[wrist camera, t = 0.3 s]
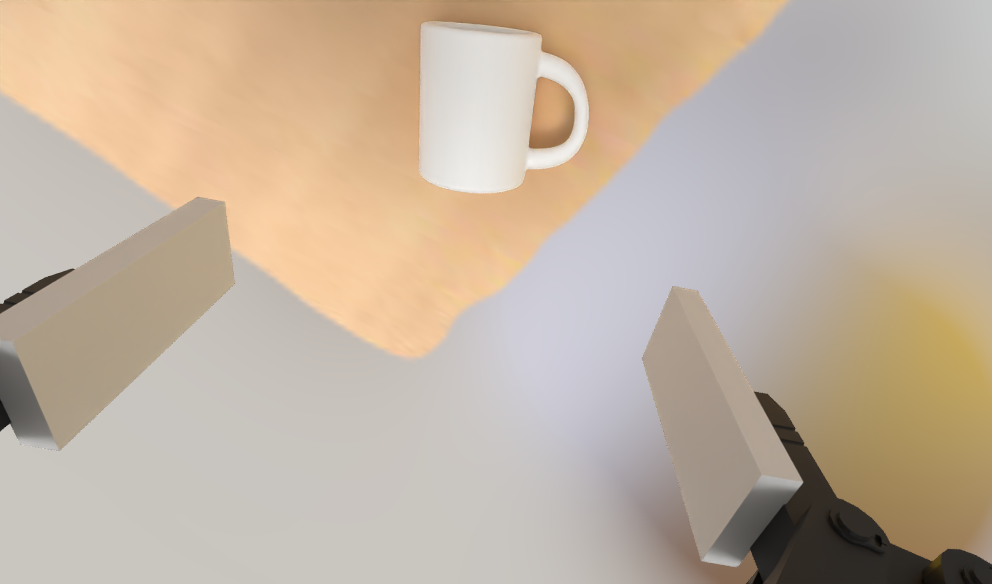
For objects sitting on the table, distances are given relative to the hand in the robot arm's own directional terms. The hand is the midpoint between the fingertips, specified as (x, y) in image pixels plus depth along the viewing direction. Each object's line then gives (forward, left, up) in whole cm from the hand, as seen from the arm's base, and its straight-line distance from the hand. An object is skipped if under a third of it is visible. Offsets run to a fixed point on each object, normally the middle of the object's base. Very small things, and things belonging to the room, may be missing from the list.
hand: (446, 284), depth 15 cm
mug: (-1, 0, -28) cm, 28 cm away
